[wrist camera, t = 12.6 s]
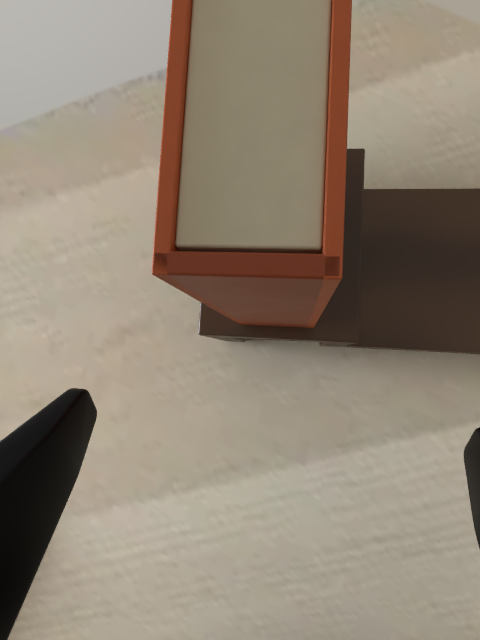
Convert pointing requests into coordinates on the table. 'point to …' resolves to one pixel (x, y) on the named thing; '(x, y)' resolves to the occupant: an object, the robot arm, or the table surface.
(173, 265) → the book
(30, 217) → the table surface
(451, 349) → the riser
